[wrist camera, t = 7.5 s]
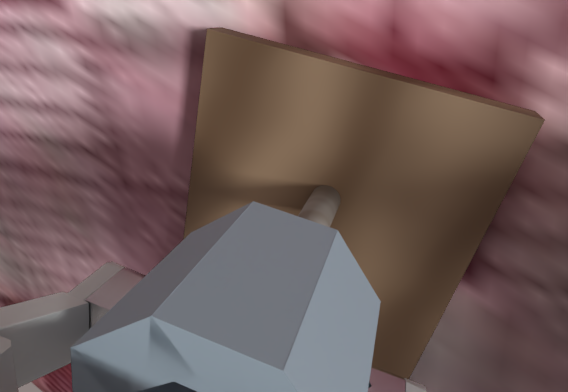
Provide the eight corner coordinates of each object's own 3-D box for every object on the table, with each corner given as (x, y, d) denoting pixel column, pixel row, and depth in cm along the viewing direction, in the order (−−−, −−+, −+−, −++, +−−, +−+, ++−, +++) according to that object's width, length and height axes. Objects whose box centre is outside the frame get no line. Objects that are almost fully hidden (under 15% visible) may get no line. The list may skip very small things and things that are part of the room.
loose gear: (401, 251, 11) (387, 413, 6) (340, 397, 14) (302, 579, 9) (197, 182, 12) (66, 280, 7) (179, 330, 15) (76, 465, 10)
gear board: (535, 111, 17) (625, 191, 9) (380, 415, 26) (362, 578, 18) (221, 27, 19) (93, 38, 12) (182, 332, 28) (97, 447, 21)
